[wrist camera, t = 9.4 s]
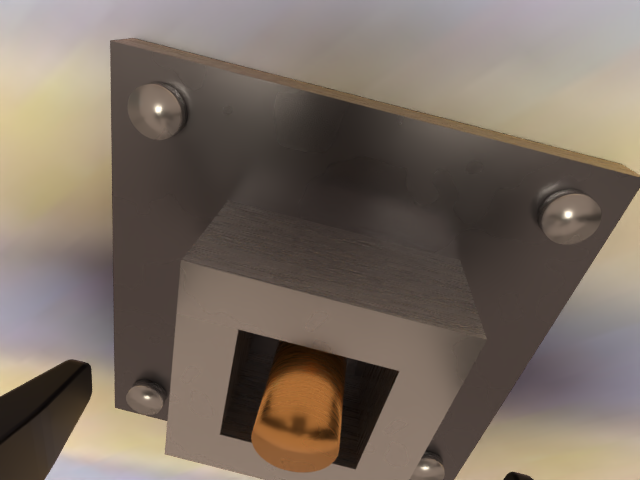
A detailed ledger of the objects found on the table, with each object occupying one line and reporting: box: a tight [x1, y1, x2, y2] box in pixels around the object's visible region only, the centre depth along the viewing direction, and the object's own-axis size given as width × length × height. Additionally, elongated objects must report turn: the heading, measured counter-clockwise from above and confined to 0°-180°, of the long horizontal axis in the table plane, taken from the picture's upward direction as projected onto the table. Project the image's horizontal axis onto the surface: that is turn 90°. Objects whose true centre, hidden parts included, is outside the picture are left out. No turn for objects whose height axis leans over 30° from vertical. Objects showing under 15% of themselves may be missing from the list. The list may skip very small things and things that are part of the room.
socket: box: [165, 200, 487, 480], centre depth 11 cm, size 6×6×3 cm
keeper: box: [110, 38, 640, 480], centre depth 11 cm, size 12×12×5 cm
